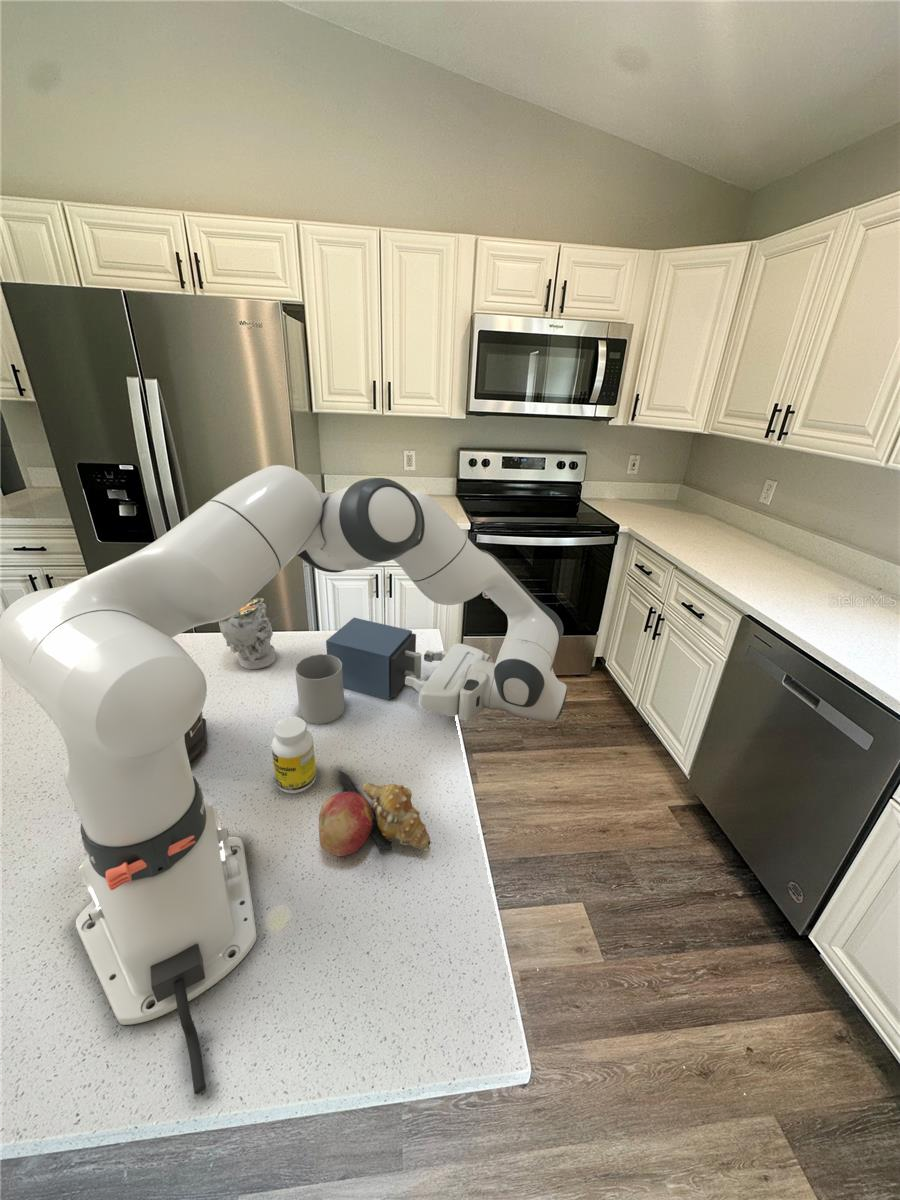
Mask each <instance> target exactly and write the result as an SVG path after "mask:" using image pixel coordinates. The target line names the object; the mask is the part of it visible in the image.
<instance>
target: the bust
mask: <svg viewBox="0 0 900 1200" xmlns="http://www.w3.org/2000/svg"><path fill="white" fill-rule="evenodd" d="M307 594H308V592H306V593H305V594H304V596H306V595H307ZM302 598H303V596H301V597H299V599H298V600H296V601H295V602H294V603H293V604H292V605H290V606H289V607H287V610H289V609H290V608H291V607H292V606H294V605H295V604H296V603H297V602H298V601H300V600H301V599H302ZM264 601H265V599H264V598H263V597H255V596H254V598H253V599H252V598H251V599H250V600H249V601H248V602H247V603H246V604H245V605H244V606H243V607H242V608H241V609H240V610H239V611H238V612H237V613H235V614H234V615H233V616H231V617H229V618H227V619H225V620H222V621H218V627H219V631H220V633H221V635H222V636H223V638H224V639H225V643H226V647H229V648H230V652H232V653H234V654H236V653H238V661H239V665H240V666H241V667H242V668H245V669H250V670H258V669H259V670H260V669H264V668H266V667H269V666H271V665H273V663H274V662H275V661H276V658H277V657H276V649H275V647H274V646H273V645H272V644H271V639H272V637H273V634H274V633H273V632H274V631H273V628H272V627H273V626H272V623H273V622H274V621H275V620H277V619H278V618H279V617H281V615H282V614H284V613H285V612H286V610H284V611H282V613H281V614H280V615H278V616H277V617H276V618H275V619H273V620H272V621H270V619H269V618H268V617H267V606H266V603H264Z"/></svg>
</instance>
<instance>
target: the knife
mask: <svg viewBox="0 0 900 1200" xmlns="http://www.w3.org/2000/svg"><path fill="white" fill-rule="evenodd" d="M349 775H350V774H347V773H346V772H343V771H342V770H340V769H338V776H339V781H340V785H341V787H342V788H343V791H344V790H345V791H344V792H356V793H359V794H360V795H362V793H361V792H360V790H359V789H358V787H357V786H356V784H355V783H354V781H353V779H352V778H351V776H349ZM371 808H372V811H373V812H375V810H374V809H373V806H372V807H371ZM373 816H374V814H373ZM376 819H377V818H376V816H374V824H373V827H372V829H371V832H370V835H371V837H372V838H373V840H374V841H375V843H376V845H377V846H378V848H379V850H380V851H382V852H386V851H391V850H392V849H393V846H392V845H393V841H392V840H390V839H386V838H385V836H383V835H382V832H381V830H380V829H379V828H378V824H377V820H376Z"/></svg>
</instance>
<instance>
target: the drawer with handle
mask: <svg viewBox="0 0 900 1200" xmlns="http://www.w3.org/2000/svg"><path fill="white" fill-rule="evenodd" d="M416 650H417V634H416V633H412V635H411V636H410V637H409V638H408V639H407V640H406V641H405V643H404V644H403V645H402V646H401V647H400V648H399V649H398V650H397V651H396V652H395V653H394V655H393V656H392V657H391V658H390V666H391V698H395V697H396V696H397V694H398V693H399V692H400V690H401V689H402V688H403V687H404V685H406V684H405V678H406V677H407V676H408V674H412V675H416V679H418V680H419V679H421V678H422V653H421V652H418V651H416Z"/></svg>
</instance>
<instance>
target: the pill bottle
mask: <svg viewBox="0 0 900 1200" xmlns="http://www.w3.org/2000/svg"><path fill="white" fill-rule="evenodd" d="M273 730H274V737H273V738H272V741H271V745H270V746H271V747H270V748H271V756H272V762H273V763H272V764H273V769H274V776H275V783H276V786H277V787H278V789H280V790H281V791H282V792H284V793H286V794H298V793H301V792H304V791H306V790H307V789H309V788H310V787H311V786H312V785H313V784H314V783H315V780H316V778H317V768H316V767H317V765H316V756H315V755H316V754H315V745H314V737H313V735H312V733H311V732H310V731H309V730H308V726H307V721H305V720H303V718H302V717H299V716H288V717H285V718H282V719H281V720H279V721H278V722H277V723H276V724H275V726H274V729H273Z"/></svg>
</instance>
